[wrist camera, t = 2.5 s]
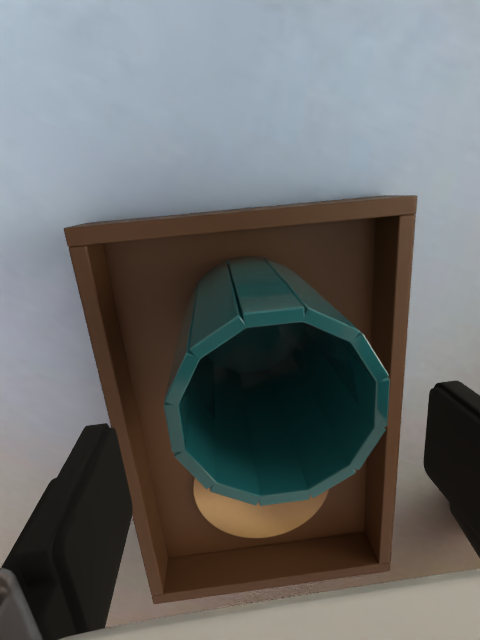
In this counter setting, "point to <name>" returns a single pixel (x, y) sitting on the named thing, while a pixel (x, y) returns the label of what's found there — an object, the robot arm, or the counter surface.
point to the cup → (271, 387)
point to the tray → (158, 353)
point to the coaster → (254, 513)
